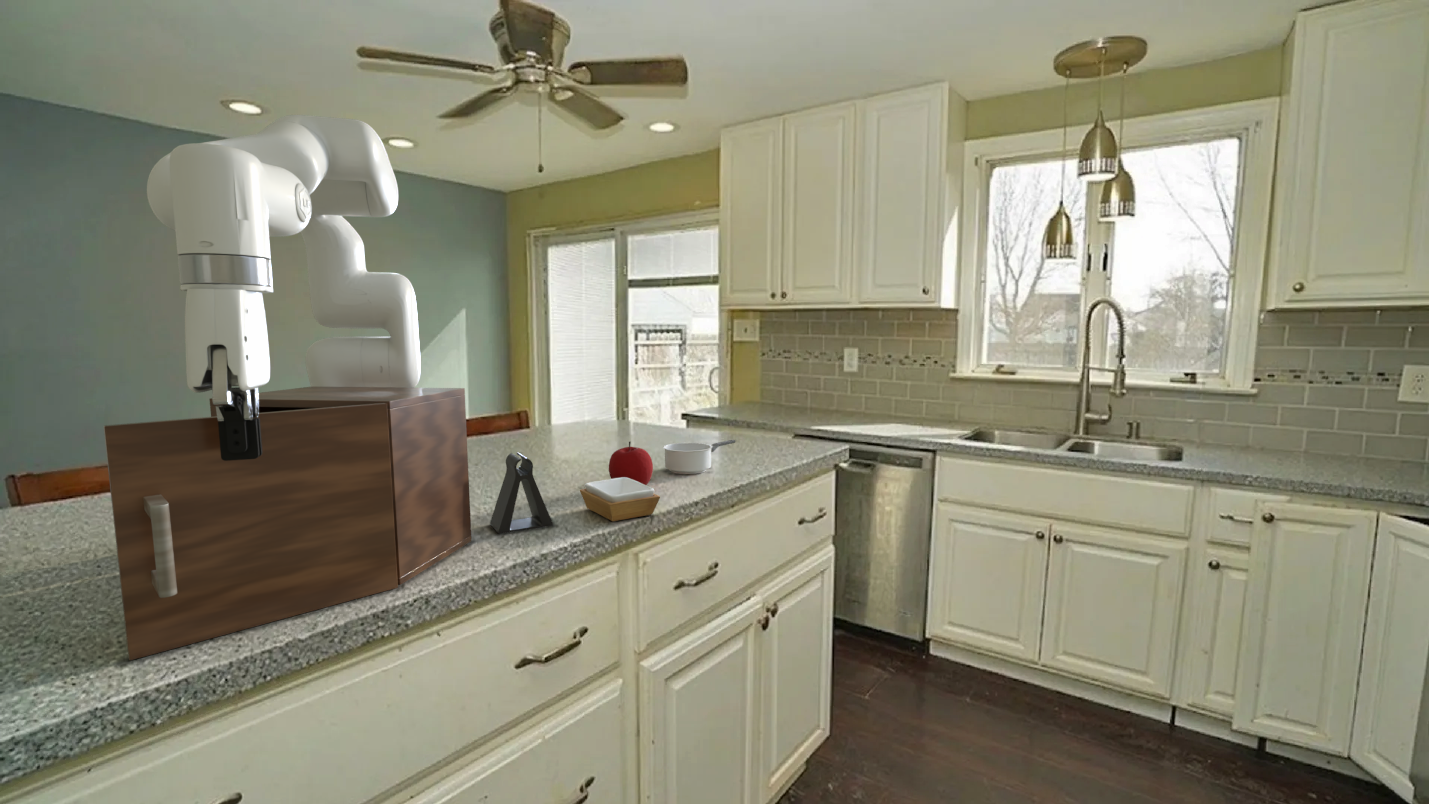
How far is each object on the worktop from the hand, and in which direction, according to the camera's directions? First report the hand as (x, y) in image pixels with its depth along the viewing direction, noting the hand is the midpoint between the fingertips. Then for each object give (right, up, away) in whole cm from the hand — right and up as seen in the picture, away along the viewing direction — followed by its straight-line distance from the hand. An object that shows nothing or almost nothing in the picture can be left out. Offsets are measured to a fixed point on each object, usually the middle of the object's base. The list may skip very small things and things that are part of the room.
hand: (242, 458), depth 69 cm
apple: (+31, -12, +69) cm, 77 cm away
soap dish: (+31, -14, +51) cm, 62 cm away
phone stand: (+16, -15, +44) cm, 49 cm away
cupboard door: (+1, -19, +6) cm, 20 cm away
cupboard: (-4, -17, +29) cm, 33 cm away
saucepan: (+46, -10, +89) cm, 101 cm away
